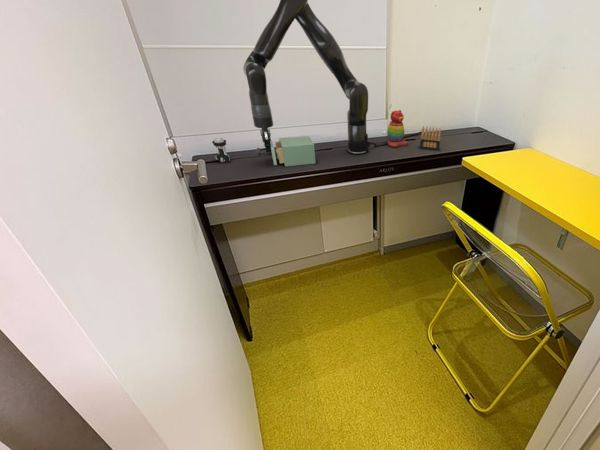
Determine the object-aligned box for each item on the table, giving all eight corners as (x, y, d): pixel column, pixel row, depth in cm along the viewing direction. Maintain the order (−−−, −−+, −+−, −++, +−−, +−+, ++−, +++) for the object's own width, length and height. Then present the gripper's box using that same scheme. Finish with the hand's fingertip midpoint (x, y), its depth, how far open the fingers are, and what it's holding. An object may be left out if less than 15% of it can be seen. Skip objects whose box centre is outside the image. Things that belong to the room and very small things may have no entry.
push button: (212, 162, 138) (205, 140, 133) (219, 157, 143) (214, 136, 137) (226, 163, 138) (220, 141, 132) (233, 159, 142) (228, 137, 137)
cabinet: (285, 166, 139) (282, 146, 134) (282, 156, 148) (279, 138, 143) (315, 163, 144) (313, 144, 139) (311, 154, 153) (309, 135, 148)
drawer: (259, 166, 135) (256, 150, 131) (258, 157, 143) (255, 142, 139) (303, 162, 142) (301, 146, 138) (299, 153, 150) (297, 139, 146)
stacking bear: (392, 148, 167) (394, 114, 157) (382, 142, 174) (383, 109, 164) (408, 145, 173) (411, 112, 163) (398, 139, 179) (400, 107, 169)
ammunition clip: (439, 149, 170) (442, 127, 163) (439, 150, 168) (441, 128, 162) (419, 147, 171) (421, 125, 164) (419, 148, 169) (421, 126, 163)
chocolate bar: (289, 155, 145) (288, 148, 143) (290, 158, 142) (289, 151, 140) (276, 156, 143) (275, 149, 141) (277, 159, 140) (276, 152, 138)
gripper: (273, 118, 126) (279, 158, 136) (270, 110, 136) (276, 148, 146) (253, 119, 123) (261, 160, 133) (251, 111, 133) (259, 149, 143)
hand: (269, 154), depth 139 cm, fingers closed
